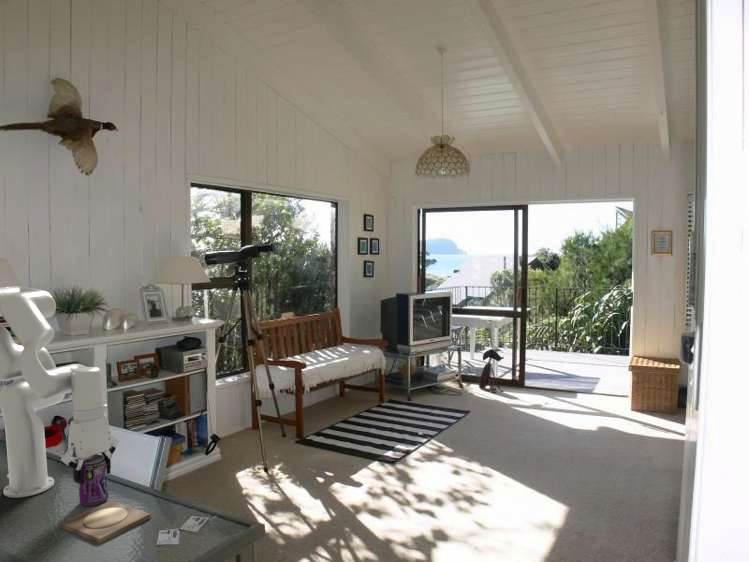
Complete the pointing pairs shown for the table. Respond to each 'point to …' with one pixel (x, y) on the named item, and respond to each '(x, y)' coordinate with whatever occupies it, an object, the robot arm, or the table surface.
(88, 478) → the beverage can
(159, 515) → the table surface
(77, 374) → the robot arm
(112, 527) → the board
